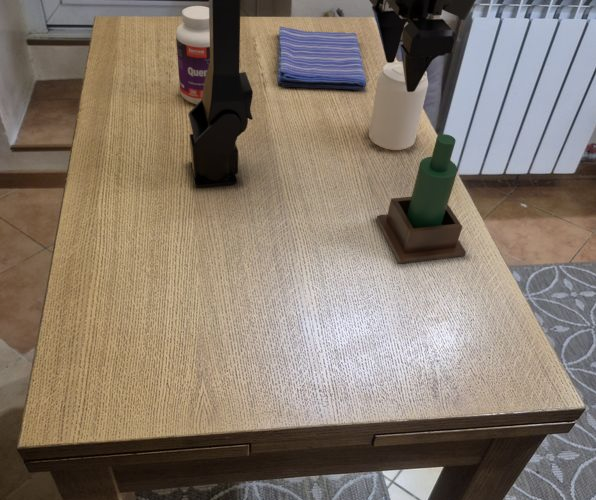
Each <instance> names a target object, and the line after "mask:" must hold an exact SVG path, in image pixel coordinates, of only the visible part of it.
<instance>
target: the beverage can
mask: <svg viewBox="0 0 596 500" xmlns="http://www.w3.org/2000/svg"><path fill="white" fill-rule="evenodd" d="M428 88H429V80H428V72H427V70H426V71H425V73H424V75H423V77H422V79H421V80H420V82H419V84H418V86H417V88H416V89H415V91H414V92H407V90H406V84H405V77H404V69H403V62H402V61H394V62H393V63H388V62H387V63H386V64H385V65H384V66H383V67H382V70H381V71H380V72H379V74H378V77H377V83H376V88H375V94H374V100H373V106H372V110H371V111H372V112H371V117H370V123H369V129H368V138H369V139H370V141H371V142H372V143H373V144H375V145H377V146H378V147H381V148H383V149H386V150H391V151H399V150H405V149H409V148H410V147H412V146H413V145H414V144H415V142H416V138H417V136H418V135H417V134H418V130H419V126H420V121H421V117H422V113H423V108H424V104H425V99H426V96H427V91H428Z"/></svg>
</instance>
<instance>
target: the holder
mask: <svg viewBox="0 0 596 500" xmlns="http://www.w3.org/2000/svg"><path fill="white" fill-rule="evenodd" d="M411 197H412V196H402V197H391V198H390V201H389V205H388V210H387V214H381V215H376V219H375V220H376V222H377V224H378V226H379V228H380V230H381V232H382V234H383V236H384V237H385V240H386V241H387V243H388V245H389V247H390V249H391V251H392V252H393V255H394V257H395V259H396V260H397V262H398V264H399V265H400V264H408V263H415V262H416V263H417V262H425V261H426V262H427V261H432V260H442V259H451V258H458V257H464V256H465V255H466V253H467V251H466V249H465V248H464V247H463V245H462V243H461V242H460V240H459V238H460V236H461V233H462V230H463V225H462V224H461V222H460V221H459V219H458V217H457V216H456V215H455V213H454V212H453V210H452V209H451V207H450V205H449V203H448V204H447V207H446V211H445V214H444V217H443V221H442V224H441V226H432V227H423V228H414V229H413V227H412V225H411V223H410V221H409V220H408V218H407V213H408V209H409V205H410V201H411Z"/></svg>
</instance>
